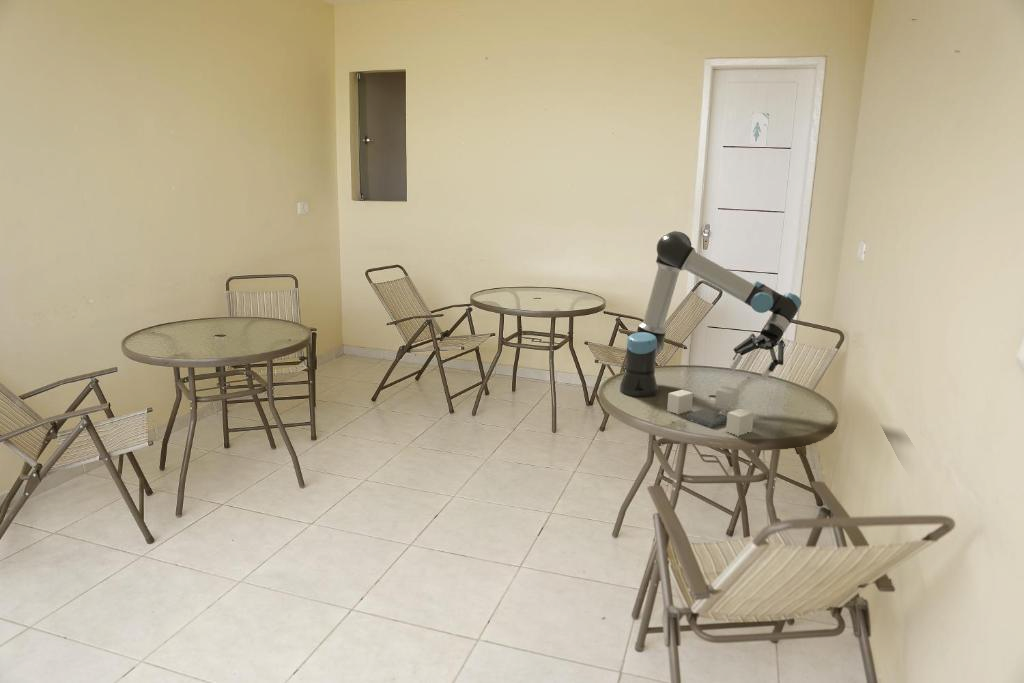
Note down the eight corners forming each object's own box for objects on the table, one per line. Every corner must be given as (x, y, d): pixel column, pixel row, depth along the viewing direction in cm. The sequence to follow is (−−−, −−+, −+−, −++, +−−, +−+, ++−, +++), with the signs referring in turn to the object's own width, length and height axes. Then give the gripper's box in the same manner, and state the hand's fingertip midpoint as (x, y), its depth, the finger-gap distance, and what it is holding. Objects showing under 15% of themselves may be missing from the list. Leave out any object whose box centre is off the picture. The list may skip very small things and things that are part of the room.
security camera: (720, 410, 259) (723, 385, 257) (738, 415, 255) (741, 389, 253) (713, 415, 254) (716, 389, 252) (732, 419, 250) (734, 393, 248)
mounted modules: (667, 410, 258) (668, 393, 256) (680, 407, 262) (682, 389, 261) (738, 436, 234) (740, 416, 232) (751, 431, 239) (754, 412, 237)
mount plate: (686, 419, 249) (687, 413, 249) (704, 413, 255) (704, 408, 255) (711, 428, 241) (712, 422, 241) (729, 422, 247) (729, 417, 246)
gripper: (808, 341, 255) (781, 386, 250) (749, 328, 275) (723, 370, 269) (802, 328, 251) (774, 374, 246) (743, 317, 270) (716, 359, 265)
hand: (747, 372), depth 257 cm, fingers open, 13 cm apart
